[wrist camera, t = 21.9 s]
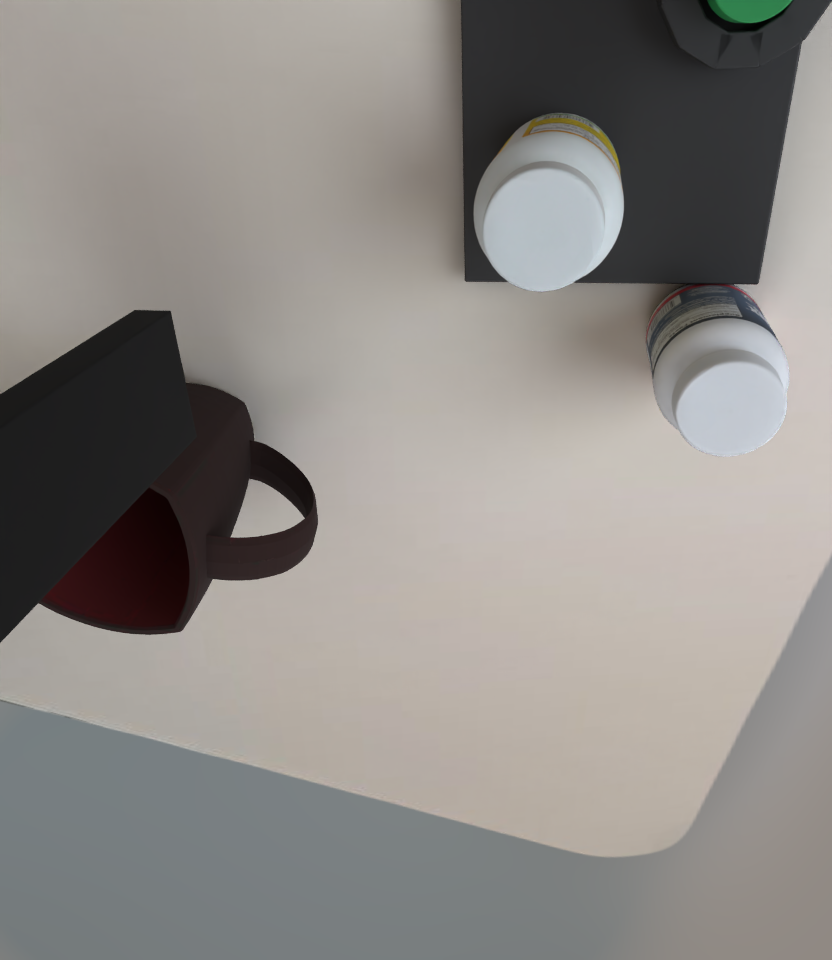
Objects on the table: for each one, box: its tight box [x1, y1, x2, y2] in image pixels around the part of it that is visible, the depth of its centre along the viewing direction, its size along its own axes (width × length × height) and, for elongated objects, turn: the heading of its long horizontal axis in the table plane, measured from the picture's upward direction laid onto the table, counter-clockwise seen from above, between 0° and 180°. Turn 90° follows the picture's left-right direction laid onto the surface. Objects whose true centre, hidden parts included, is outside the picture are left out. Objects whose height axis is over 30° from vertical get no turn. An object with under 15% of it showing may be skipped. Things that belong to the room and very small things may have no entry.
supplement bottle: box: [474, 113, 624, 292], centre depth 29 cm, size 5×5×10 cm
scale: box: [461, 0, 832, 284], centre depth 31 cm, size 14×13×3 cm
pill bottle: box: [646, 284, 789, 456], centre depth 33 cm, size 5×5×9 cm
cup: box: [39, 383, 318, 635], centre depth 40 cm, size 10×14×12 cm
